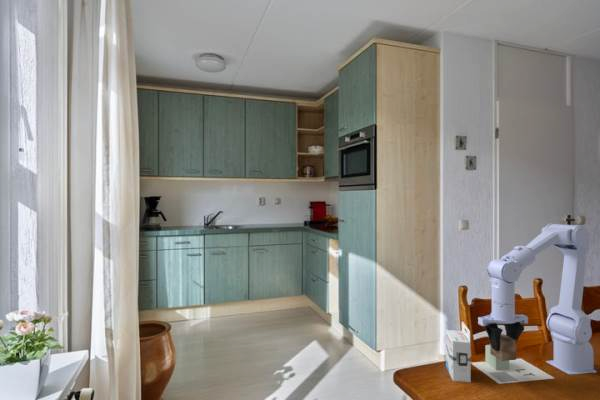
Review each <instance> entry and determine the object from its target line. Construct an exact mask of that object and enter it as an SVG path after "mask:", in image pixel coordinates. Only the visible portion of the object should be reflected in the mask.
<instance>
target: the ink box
mask: <svg viewBox="0 0 600 400" xmlns="http://www.w3.org/2000/svg"><path fill="white" fill-rule="evenodd" d="M471 347H472V346H471V330H470V329H469V328H468V326H467V325H466V324H465V322H464V321H461V330H453V329H452V330H451V329H446V330H445V368H446V369H447V371H448V374H449V376H450V378H451V380H452V381H453V382H461V383H471V382H472V380H471V377H472V373H471V372H472V371H471V370H472V369H471V368H472V366H471V365H472V364H471V363H472V361H471V359H472V358H471V357H472V354H471V353H472V351H471V350H472V349H471Z"/></svg>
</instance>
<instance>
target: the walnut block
mask: <svg viewBox="0 0 600 400" xmlns="http://www.w3.org/2000/svg"><path fill="white" fill-rule="evenodd" d="M489 345H490V354H492V355H493V356H495V357H496V358H498V359H500V360H501V361H508V360H516V359H517V343H516V340H514V339H512V338H510V337H509V336H507V335H506V333H505V334H504V333H501V337H500V348H499V351H496V350H494V349H492V347H491V343H489Z"/></svg>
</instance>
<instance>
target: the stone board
mask: <svg viewBox="0 0 600 400" xmlns="http://www.w3.org/2000/svg"><path fill="white" fill-rule="evenodd" d="M471 365H472V366H474V367H475V368H476V369H478V370H479V371H481V372H482V374H483V373H484V374H485V375H486V376H487V377H489V378H491V379H492V380H493V381H494V382H496V383H497V384H498V385H500V384H510V383H520V382H530V381H540V380H551V379H552V380H553V379H555V377H554V376H553V375H550V374H549V373H546V372H545V371H544V370H542V369H540V368H538V367H537V366H535V365H533V364H531V363H530V362H528V361H526V360H524V359H523V358H520V357H519V358H516V360H509V369H501V370H496V369H494V368H493V367H491V366H490V365H488V364H487V363H486V361H477V362H476V361H475V362H473V361H472V362H471Z"/></svg>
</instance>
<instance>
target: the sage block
mask: <svg viewBox="0 0 600 400" xmlns="http://www.w3.org/2000/svg"><path fill="white" fill-rule="evenodd" d="M484 348H485V354H484V355H485V357H484V358H485V359H484V360H485V361H486V363H487V364H488V365H490V366H491V367H493V368H494V369H496V370H501V369H509V360H508V361H501V360H500V359H498V358H496V357H495V356H493V355H492V354H490V344H486V345H485V347H484ZM485 361H484V362H485Z"/></svg>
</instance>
